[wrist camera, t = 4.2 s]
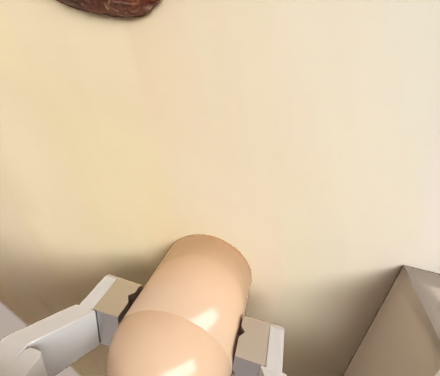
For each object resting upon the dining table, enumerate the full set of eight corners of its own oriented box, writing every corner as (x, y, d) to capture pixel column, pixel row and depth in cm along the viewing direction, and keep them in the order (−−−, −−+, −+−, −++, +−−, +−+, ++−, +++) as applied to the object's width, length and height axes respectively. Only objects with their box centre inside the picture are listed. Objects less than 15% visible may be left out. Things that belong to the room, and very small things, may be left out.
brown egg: (165, 290, 14) (83, 434, 9) (167, 224, 12) (65, 356, 7) (244, 314, 13) (206, 486, 8) (259, 248, 11) (222, 415, 6)
